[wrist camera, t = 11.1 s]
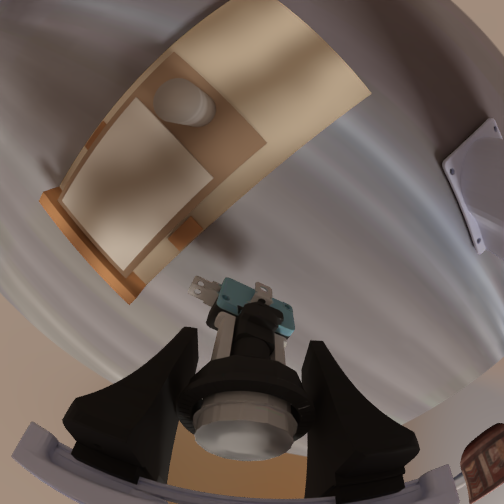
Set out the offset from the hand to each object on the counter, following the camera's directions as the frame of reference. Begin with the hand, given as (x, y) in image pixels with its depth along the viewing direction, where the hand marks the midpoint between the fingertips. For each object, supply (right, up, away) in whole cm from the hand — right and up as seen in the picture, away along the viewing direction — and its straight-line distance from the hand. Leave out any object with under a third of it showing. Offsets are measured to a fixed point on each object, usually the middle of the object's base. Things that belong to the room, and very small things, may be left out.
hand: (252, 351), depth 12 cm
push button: (-1, +2, +5) cm, 5 cm away
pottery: (+59, -43, +23) cm, 77 cm away
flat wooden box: (-4, +12, +4) cm, 14 cm away
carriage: (-7, +10, +4) cm, 13 cm away
